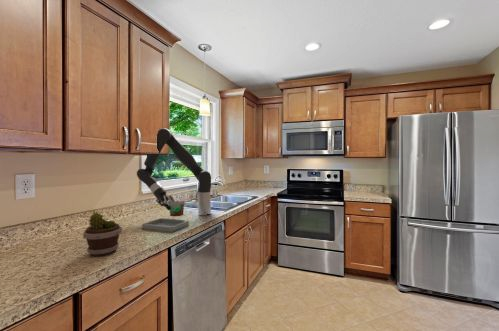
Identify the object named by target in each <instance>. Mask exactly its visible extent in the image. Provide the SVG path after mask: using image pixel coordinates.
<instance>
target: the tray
mask: <svg viewBox="0 0 499 331" xmlns="http://www.w3.org/2000/svg"><path fill="white" fill-rule="evenodd" d="M189 222H190V221H189V220H185V219H175V218H174V219H173V218H162V217H160V218H157V219H154V220H151V221H148V222H145V223H142V224H141V229H142V230H147V231H156V232H157V231H158V232H163V233H164V232H165V233H175V232H176V231H179V230H181V229H184V228H186V227H188V226H189V225H190V224H189Z"/></svg>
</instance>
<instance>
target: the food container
mask: <svg viewBox="0 0 499 331" xmlns="http://www.w3.org/2000/svg"><path fill="white" fill-rule="evenodd" d="M168 201H169V202H168V203H167V204H168V205H169V206H170V208H171V209H170V210H169V216H170V217H173V218H174V217H182V216H184V211H185V210H184V209H185V205H186V202H185V201H184V200H182V201H181V200H180V201H178V200H174V201H170V200H168Z"/></svg>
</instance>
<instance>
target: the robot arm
mask: <svg viewBox="0 0 499 331" xmlns="http://www.w3.org/2000/svg"><path fill="white" fill-rule="evenodd" d="M157 132H158V133H157ZM157 132H156V136H157V149H158V151H159V153H160V154H152V155H147V156H146V159H145V160H144V163H143V165H144V166H145V168H139V169H138V170H137V171H136V176H137V178H138V179H139V180H140V181H141V182H142V183H144V184H145V185H146V186H147V187H148V189H149V190H150V192H151V193H152V194H153V196H154V197H155V198H156V200H155V202H157V203H158V204H159V205H160V206H161V207H165V209H166V210H168V211H170V209H171V208H170V206H169V205H168V202H169V200H170V201H175V199H174V198H173V196H172V195H171V194H170V195H169V194H167V191H166V189H165V188H164V187H163V186H162V185H161V184H160V183H159V182H158V180H156V178H155V177H153V176H152V175H153V174H154V173H153V172H154V168H155V165H156V163H157V161H158V159H159V157H160V155H161V152H162V150H163V148H164V146H165V145H167V146H168V147H169V149H170V150H171V152H172V153H173V154H174V155H175V157H176V159H177V160H178V161H179V162H180V163H181V164H182V165H184V167H185V168H186V169H188V170H189V171H190V172H191V173H192V174H193V175H194V176H195V177H194V178H196V180H197V181H198V188H197V200H198V201H197V202H198V203H197V204H198V205H197V209H198V211H197V212H198V214H199V215H198V216H208V215H207V214H210V213H212V204H211V203H212V202H211V188H212V175H211V173H210V172H209V171H206V170H204V169H203V168H202V167H201V166H200V165H199V163H198V162H197V161H196V159H195V158H194V156H193V155H192V154H191V153H190V151H189V150H188V149H187V148H186V147H185V146H184V145H183V144H182V143H180V142H179V141H178V140H177V139H176V137H175V136H174V134H173V133H172V132H171V131H170V130H169V129H168V128H167V127H163V128H160V129H158V131H157ZM210 215H211V214H210Z"/></svg>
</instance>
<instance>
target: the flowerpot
mask: <svg viewBox="0 0 499 331" xmlns="http://www.w3.org/2000/svg"><path fill="white" fill-rule="evenodd" d="M104 217H105V216H104V214H102V213H101V212H99V211H96V210H95V211H93V212H92V214H91V215H89V218H88V222H89V223H88V227H86V229H85V230H84V232H83V234H82V236H83V238H84V239H85V240H86V243H87V245H88V247H87V251H86V252H87V253H88V254H90V256H93V257H104V256H109V255H111V254H113V253H116V251H117V250H118V248H119V237H120V234H121V233H122V231H123V230H122V228H123V227H122V226H120V224H119V223H116V221H115V219H113V220H112V219H109V220H108V219H106V218H104Z"/></svg>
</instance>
